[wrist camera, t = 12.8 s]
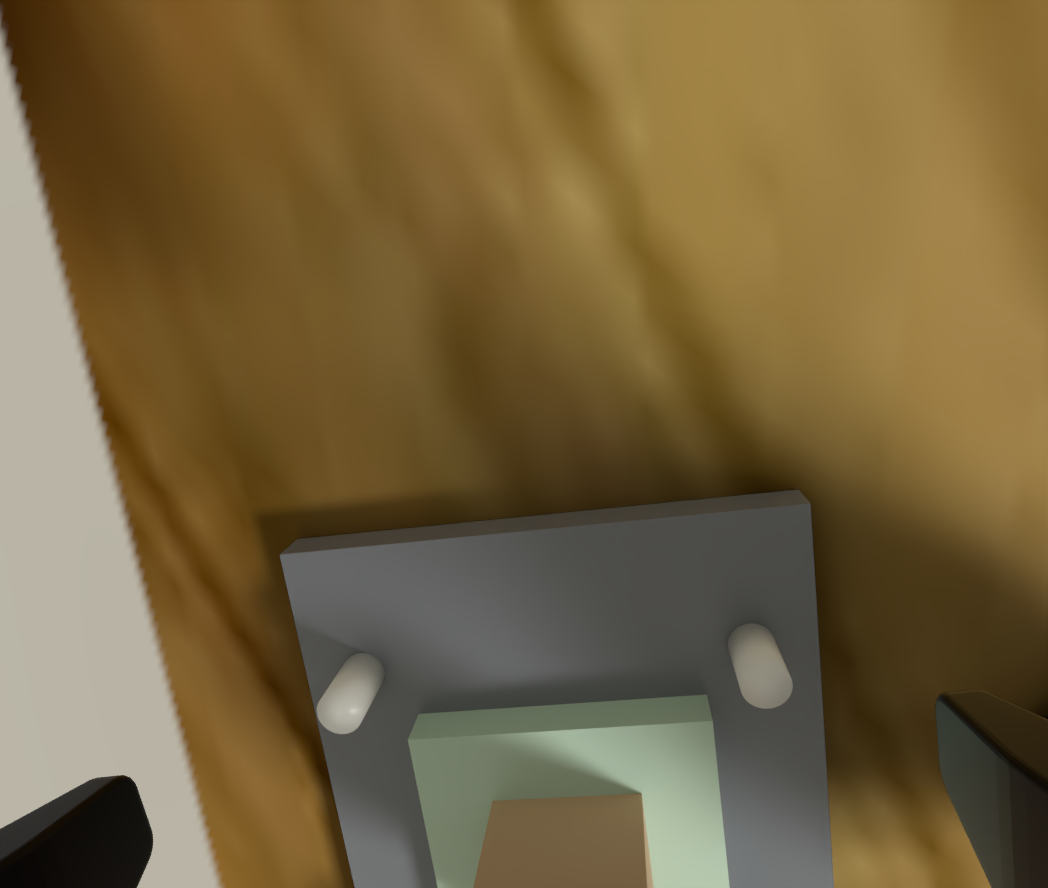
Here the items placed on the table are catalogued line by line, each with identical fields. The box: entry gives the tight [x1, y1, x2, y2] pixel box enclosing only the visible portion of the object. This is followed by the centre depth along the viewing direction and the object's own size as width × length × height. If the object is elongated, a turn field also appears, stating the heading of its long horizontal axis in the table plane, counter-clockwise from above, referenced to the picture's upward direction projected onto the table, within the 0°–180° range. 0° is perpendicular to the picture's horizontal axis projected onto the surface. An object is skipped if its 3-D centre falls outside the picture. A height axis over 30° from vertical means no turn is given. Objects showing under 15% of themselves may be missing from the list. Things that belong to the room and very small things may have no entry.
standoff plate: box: [280, 489, 834, 888], centre depth 21 cm, size 18×14×3 cm
